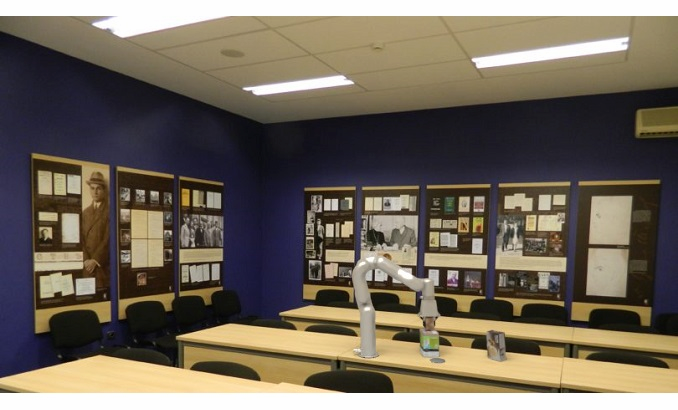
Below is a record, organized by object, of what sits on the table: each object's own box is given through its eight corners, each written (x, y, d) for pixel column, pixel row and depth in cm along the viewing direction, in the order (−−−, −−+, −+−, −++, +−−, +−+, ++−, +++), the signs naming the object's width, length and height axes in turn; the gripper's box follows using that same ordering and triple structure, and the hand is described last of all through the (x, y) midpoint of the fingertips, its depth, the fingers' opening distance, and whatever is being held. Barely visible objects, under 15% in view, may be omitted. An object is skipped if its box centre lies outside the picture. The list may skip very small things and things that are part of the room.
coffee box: (506, 359, 261) (505, 332, 262) (500, 361, 257) (499, 334, 258) (493, 356, 268) (492, 329, 269) (486, 358, 264) (485, 331, 265)
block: (426, 329, 274) (425, 318, 274) (424, 327, 279) (424, 316, 279) (434, 329, 274) (433, 318, 275) (432, 327, 279) (431, 316, 280)
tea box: (440, 357, 268) (439, 332, 269) (423, 357, 268) (422, 333, 269) (435, 350, 283) (434, 327, 284) (419, 350, 283) (418, 327, 284)
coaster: (431, 363, 256) (431, 362, 256) (428, 358, 265) (428, 358, 265) (447, 363, 257) (447, 362, 257) (443, 358, 266) (443, 357, 266)
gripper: (416, 299, 274) (417, 328, 273) (443, 298, 274) (444, 328, 273) (413, 297, 281) (414, 326, 280) (440, 296, 282) (441, 325, 281)
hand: (429, 326), depth 277 cm, fingers closed on block, 4 cm apart
